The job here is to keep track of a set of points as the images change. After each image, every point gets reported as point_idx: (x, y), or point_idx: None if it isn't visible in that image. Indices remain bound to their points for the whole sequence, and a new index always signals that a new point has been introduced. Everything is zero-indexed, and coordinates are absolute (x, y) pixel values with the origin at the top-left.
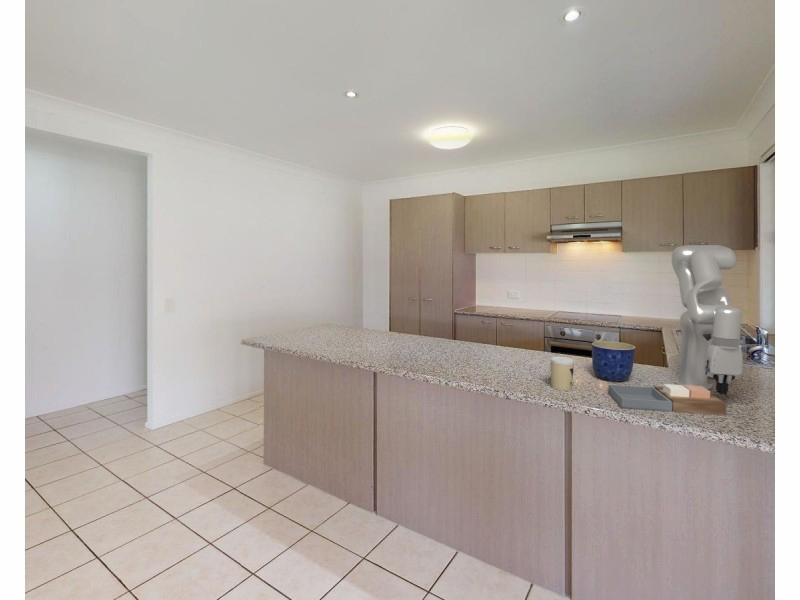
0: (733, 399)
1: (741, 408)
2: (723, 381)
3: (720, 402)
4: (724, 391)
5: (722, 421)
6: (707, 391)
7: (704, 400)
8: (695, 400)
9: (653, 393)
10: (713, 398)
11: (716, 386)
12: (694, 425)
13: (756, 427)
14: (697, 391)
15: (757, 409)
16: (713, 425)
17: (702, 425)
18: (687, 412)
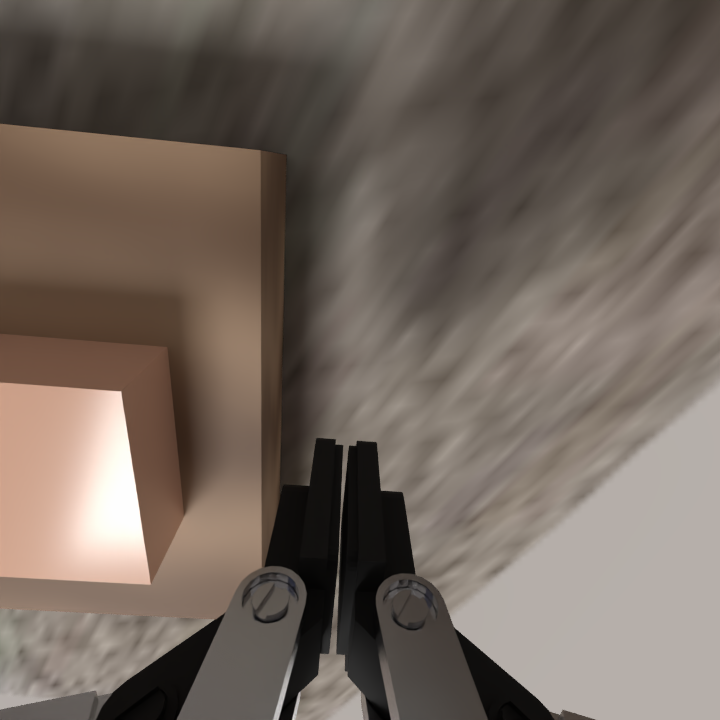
0: (677, 124)
1: (514, 398)
2: (351, 636)
3: (227, 602)
4: (340, 551)
5: (200, 619)
6: (119, 580)
7: None
8: (17, 579)
9: None
10: (218, 519)
11: (275, 524)
12: (14, 672)
13: None
14: (8, 565)
15: (633, 408)
16: (120, 664)
17: (59, 669)
18: None
